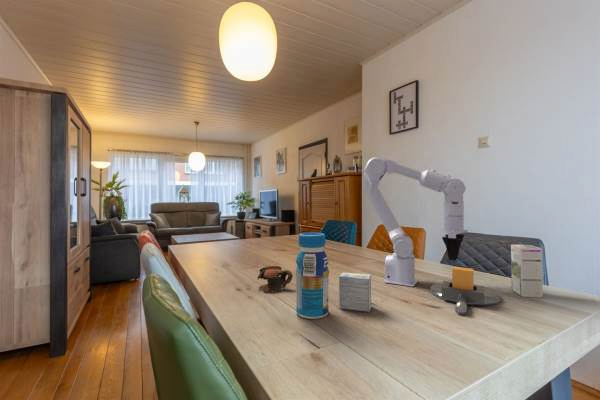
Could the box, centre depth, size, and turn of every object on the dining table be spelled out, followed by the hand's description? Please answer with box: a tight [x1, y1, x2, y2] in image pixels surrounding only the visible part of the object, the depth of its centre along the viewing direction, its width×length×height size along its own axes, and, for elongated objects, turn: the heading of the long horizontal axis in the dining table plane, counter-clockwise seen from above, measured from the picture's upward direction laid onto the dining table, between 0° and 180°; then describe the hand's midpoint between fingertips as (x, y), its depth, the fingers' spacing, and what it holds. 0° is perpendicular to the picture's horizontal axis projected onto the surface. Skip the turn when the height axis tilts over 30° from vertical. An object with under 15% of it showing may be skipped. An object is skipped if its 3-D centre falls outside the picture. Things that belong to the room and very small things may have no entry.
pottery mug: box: [256, 265, 294, 293], centre depth 93 cm, size 12×10×8 cm
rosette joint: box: [429, 280, 501, 316], centre depth 82 cm, size 18×26×6 cm
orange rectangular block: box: [451, 266, 474, 290], centre depth 80 cm, size 5×3×8 cm, turn 58°
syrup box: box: [510, 244, 544, 299], centre depth 86 cm, size 6×6×14 cm
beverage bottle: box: [294, 232, 330, 320], centre depth 72 cm, size 8×8×20 cm
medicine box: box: [338, 272, 372, 313], centre depth 76 cm, size 8×4×9 cm, turn 71°
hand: (453, 257), depth 93 cm, fingers open, 7 cm apart
